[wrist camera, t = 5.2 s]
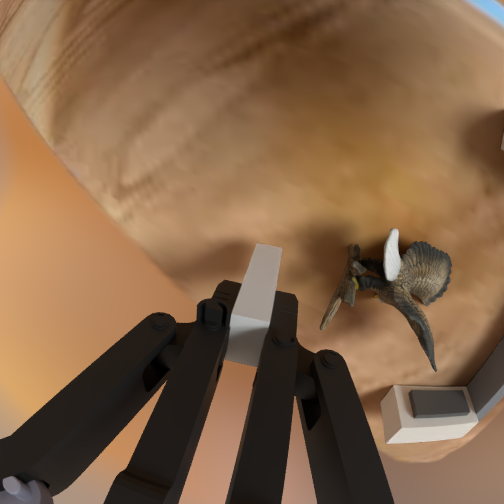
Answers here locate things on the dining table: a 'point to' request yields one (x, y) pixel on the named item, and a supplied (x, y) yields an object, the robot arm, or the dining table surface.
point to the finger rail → (443, 404)
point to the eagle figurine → (397, 283)
